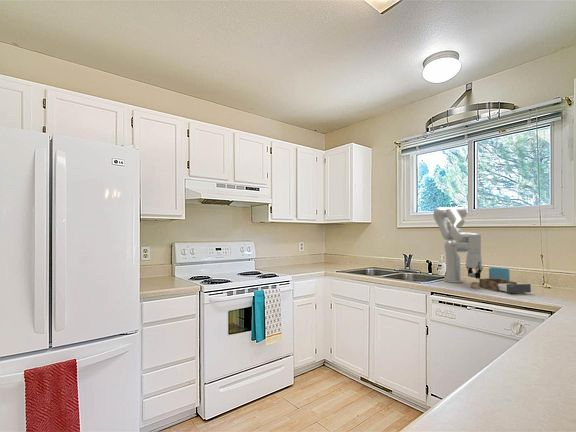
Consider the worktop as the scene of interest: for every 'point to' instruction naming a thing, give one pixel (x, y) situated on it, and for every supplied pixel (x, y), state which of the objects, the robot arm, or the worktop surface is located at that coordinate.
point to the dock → (493, 283)
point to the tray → (515, 288)
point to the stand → (474, 285)
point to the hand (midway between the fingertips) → (474, 277)
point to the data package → (499, 273)
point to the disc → (471, 274)
